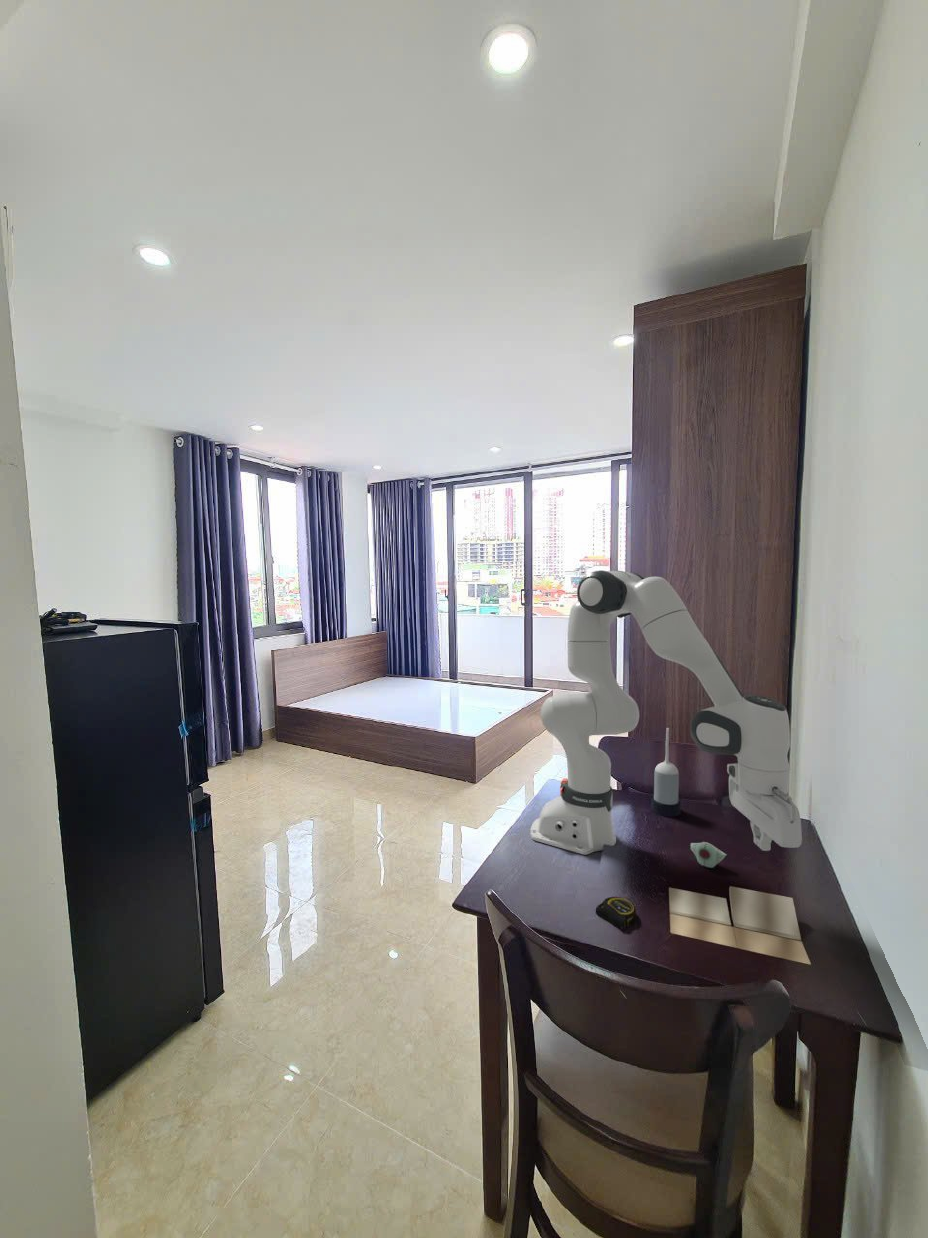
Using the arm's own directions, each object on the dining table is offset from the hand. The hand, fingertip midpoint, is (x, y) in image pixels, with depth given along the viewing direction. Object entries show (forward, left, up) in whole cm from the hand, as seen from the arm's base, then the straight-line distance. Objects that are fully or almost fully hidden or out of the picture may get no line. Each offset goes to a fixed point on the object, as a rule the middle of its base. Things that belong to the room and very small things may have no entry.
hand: (761, 847), depth 99 cm
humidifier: (-17, +46, -15) cm, 51 cm away
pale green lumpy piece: (-8, +15, -15) cm, 23 cm away
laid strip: (-6, -10, -15) cm, 19 cm away
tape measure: (-27, -12, -15) cm, 33 cm away
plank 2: (0, -2, -13) cm, 13 cm away
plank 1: (-11, -3, -15) cm, 19 cm away
